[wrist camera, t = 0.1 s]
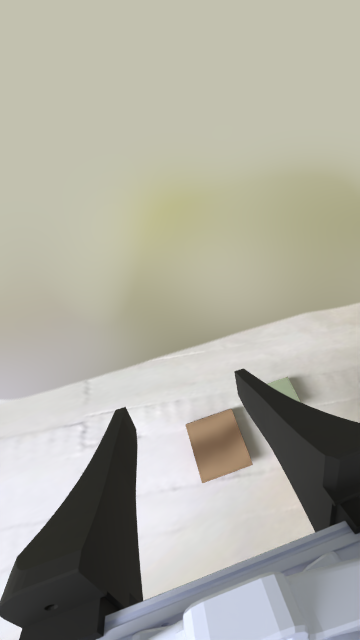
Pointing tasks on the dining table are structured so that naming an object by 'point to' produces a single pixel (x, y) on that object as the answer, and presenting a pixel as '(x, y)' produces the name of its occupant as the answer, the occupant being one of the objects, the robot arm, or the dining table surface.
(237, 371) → the robot arm
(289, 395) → the green cube
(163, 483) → the dining table surface
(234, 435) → the walnut block
